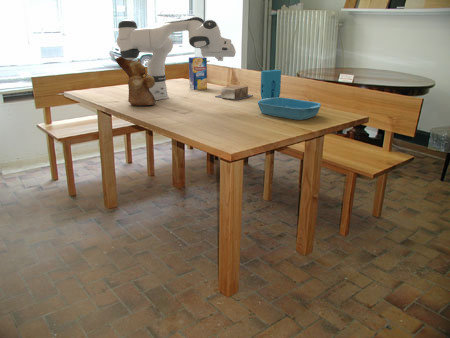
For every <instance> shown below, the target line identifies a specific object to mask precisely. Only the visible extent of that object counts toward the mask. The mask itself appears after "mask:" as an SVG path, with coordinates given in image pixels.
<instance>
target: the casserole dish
mask: <svg viewBox="0 0 450 338" xmlns="http://www.w3.org/2000/svg"><path fill="white" fill-rule="evenodd" d="M257 105H258V108H259V110H260V113H262V114H264V115H267V116H272V117H278V118H283V119H288V120H289V119H290V120H295V121H302V120H306V119H307V120H308V119H311V118H314V117H315V116H317V114H318V113H319V110H320V108H321V106H322V103H320V102H317V101H316V102H315V101H309V100H303V99H296V98H289V97H281V96H279V97H275V98H266V99H262V98H261V99H259V100H258V101H257Z"/></svg>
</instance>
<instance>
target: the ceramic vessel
mask: <svg viewBox="0 0 450 338" xmlns="http://www.w3.org/2000/svg"><path fill="white" fill-rule="evenodd" d="M115 62H116V63H117V65H118V66H119V67H120V69H122V71H124V73H126V76H128V83H127V84H128V87H127V88H128V99H127V100H128V101H127V102H128V103H129V104H131V105H132V106H139V107H140V106H151V105H155V103H156V102H155V101H156V100H155V98H154V96H153V94H152V93H151V92H150V90H149V88H152V87H153V86H154V85H155V79H154V78H153V77H152V76H149V75H148V72H147V73H146V71H147V70H146V66H144V65H143V63H141V58H137V60H136V59H133V60H126V59H124V58H122V57H121V55H120V56H118V57H116V58H115ZM144 75H145V76H144Z"/></svg>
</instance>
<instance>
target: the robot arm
mask: <svg viewBox="0 0 450 338" xmlns="http://www.w3.org/2000/svg"><path fill="white" fill-rule="evenodd" d="M117 28H118V33H117V34H118V36H117V39H116V45H117V46H118V48H119V50H120V51H119V53H120V56H121V57H122V58H124V59H126V60H136V59H138V57H139V56H140V54H141V53H145V54H146V53H147V54H152V57H151V59H150V60H148V61H147V65H146V67H147V69H146V71H147V74H148V75H149V76H152V77H153V78H154V79H155V85H154V86H153V87H152V88H149V90H150V92H151V93H152V94H153V96H154V98H155V101H158V100H166V99H169V98H170V97H169V94H168V93H169V92H168V89H167V88H168V87H167V83H166V81H167V77H166V74H165V71H166V67H165V65H166V59H167V58H168V57H167V56H168V55H169V53H171V51H173V48H174V43H173V40H172V39H171V38H170V36H171V35H172V34H173V33H178V32H187V31H188V33H187V34H188V43H189V45H190V46H191V47H193V48H196V49H200V54H201V57H206V58H209V57H210V58H215V59H216V60H217V61H219V62H222V61H223V62H224V58H234V57H235V56H236V48H235V45H234V43H232V40H231V39H229V38H225V37H222V35H221V29H220V27H219V25H218V23H217V22H216V21H215V20H213V19H206V20H204V19H203V18H202V17H198V16H194V17H190V18H187V19H180V20H172V21H167V22H163V23H161V24H160V25H157V26H153V27H141V28H138V25H137V23H136V21H134V20H131V19H129V18H128V19H122V20H120V21H119V22H118V26H117Z"/></svg>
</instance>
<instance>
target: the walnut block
mask: <svg viewBox="0 0 450 338" xmlns="http://www.w3.org/2000/svg"><path fill="white" fill-rule="evenodd" d="M220 92H221V93H220V95H221V97H222V98H221V99H225V98H229V99H228V100H232V99H236V98H240V97H244V96H248V95H249V85H248V86H247V85H238V84H234V85H230V86H225V87H221V88H220Z"/></svg>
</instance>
